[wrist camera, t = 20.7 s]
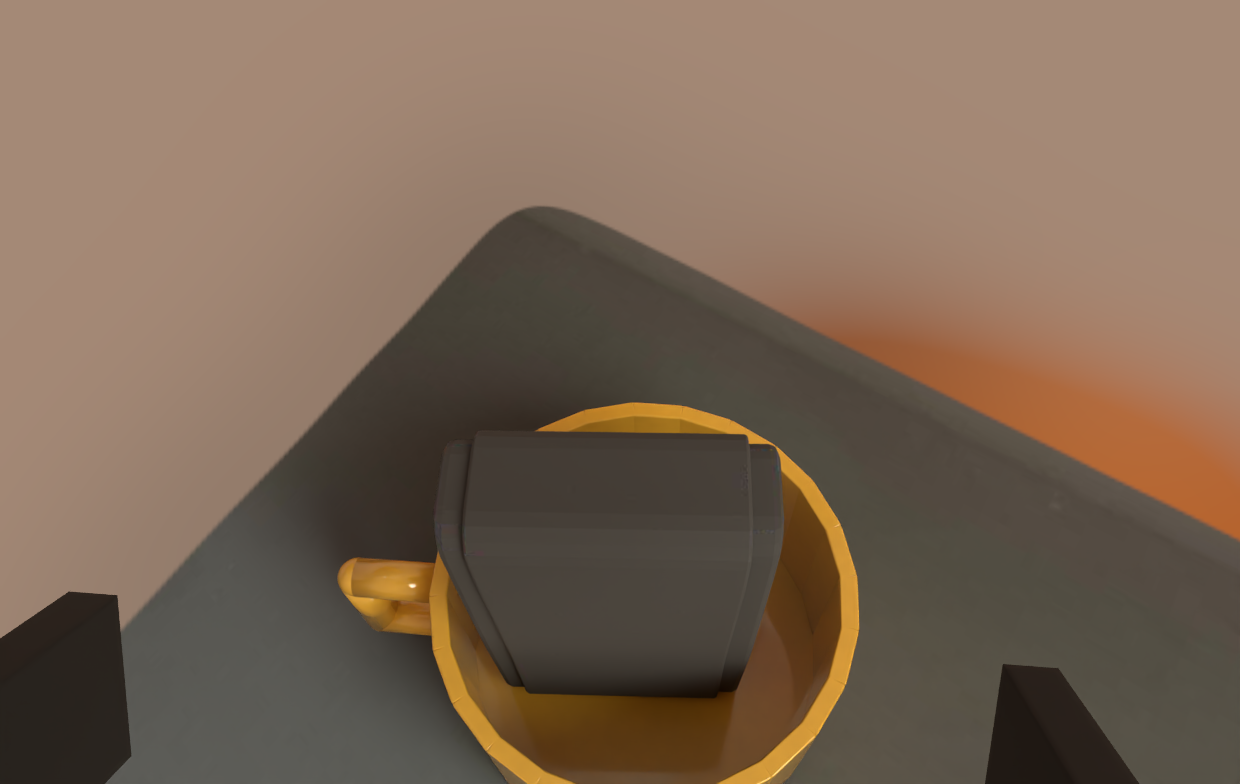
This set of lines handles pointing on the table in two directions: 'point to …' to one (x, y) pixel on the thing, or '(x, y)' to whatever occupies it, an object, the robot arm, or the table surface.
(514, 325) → the table surface
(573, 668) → the card reader
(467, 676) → the mug
